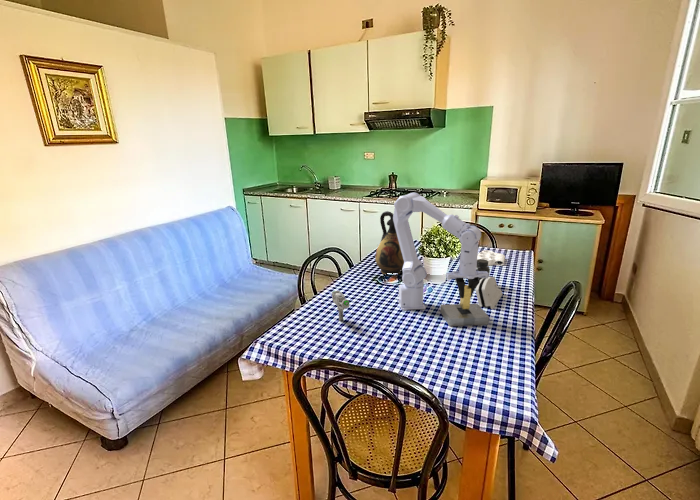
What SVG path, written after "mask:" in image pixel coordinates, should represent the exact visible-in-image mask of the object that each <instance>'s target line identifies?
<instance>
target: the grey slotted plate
mask: <svg viewBox="0 0 700 500" xmlns="http://www.w3.org/2000/svg"><path fill="white" fill-rule="evenodd" d="M440 314H441V315H442V317H443V318H444V320H445V322H446V324H448V327H466V326H489V321H490V316H489V315H488V314H487V312H486V311H484V309H483V308H482V307H480V306H479V303H478V302H477V303H470V309H462V308H461V306H460V303H454V304H450V303H449V304H448V303H447V304H440Z"/></svg>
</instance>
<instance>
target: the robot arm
mask: <svg viewBox="0 0 700 500" xmlns="http://www.w3.org/2000/svg"><path fill="white" fill-rule="evenodd" d="M393 206H394V210H393V221H394V225H395V229H396V233H397V237H398V241H399V244H400V248H401V252H402V256H403V260H404V265H403V268H402V270H401V271H402V278H401V279H402V282H403V283H402V284H399V286H398V301H397V302H398V304H399V307H400V309H401V310H402V311H403V310H404V311H405V310H408V311H409V310H425V309H426V305H425V304H424V289H425V288H424V287H425V285H424V284H425V283H424V280H425V279H426V277H427V273H428V272H427V270H426V268H425V267H424V265H423V262H422V260H420V259H419V257H418V254H417V250H416V246H415V242H414V241H415V240H414V238H413V235H412V230H411V226H410V222H409V219H410V217H411V216H412V214H414V213H424V214H426V215H427V216H429V217H431V218H432V219H434V220H436V221H438V222H440V223H441V227H442V229H444V230H445V231H447V232H448V233H450V234H451V235H453V236H454V237H456V239H457V238H458V240H459V243H460V253H459V256H460V257H459V266H458V267H459V268H458V270H457V271H450V272H446V274H445V278H446V280H448V281H450V280H453V279H454V280H455V282H456V286H457V289H458V293H459V297H460V298H463V296H464V287H465V285H468V286H469V287H470V288H471V298H472V297H473V294H474V292H475V291H476V287H477V285H478V284H479V282H480V280H479V278H488V275H489V276H490V274H489V273H488V272H487V271H476V267H477V256H478V253H479V241H480V239H481V237H482V231H481V230H480V228H479V227H477V225H471V224H470V223H469V222H468V223H466V222H465V221H464V220H462V219H460V216H459V215H458V214H455V215H454V214H453V213H451V214H447V213H445V212H444V211H443V210H441V209H440V208H438V207H437V206H436V205H434V204H433V203H432V202H430V201H429V200H428V199H427V198H426V197H424V196H422V195H420V194H419V193H418V192H410V193H407V194H404V195H400V196H399V197H398V198H397V199H396V200H395V202H394V203H393ZM465 279H467V281H468V284H467V283H466V282H465Z"/></svg>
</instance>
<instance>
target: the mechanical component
mask: <svg viewBox="0 0 700 500" xmlns="http://www.w3.org/2000/svg"><path fill="white" fill-rule="evenodd" d="M331 297H332V298H331V299H332V302H333V303H334V304H335V305H336V306H337V311H338V321H339V322H341V321H344V310H345V309H349V308H350V300H348V299H346V298H345V294H343V292H341V291H340V290H333V291H332V292H331Z"/></svg>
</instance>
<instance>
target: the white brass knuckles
mask: <svg viewBox="0 0 700 500" xmlns="http://www.w3.org/2000/svg"><path fill="white" fill-rule="evenodd" d="M478 259H485V260H487V261H488V267H490V266H501V267H502V266H503V265H505V261H506V256H505V254H503V253H500V252H499V253H498V252H494V251H493V250H486V249H485V250H482V251H480V252H478V256H477V260H478ZM499 262H500V263H499Z"/></svg>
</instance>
